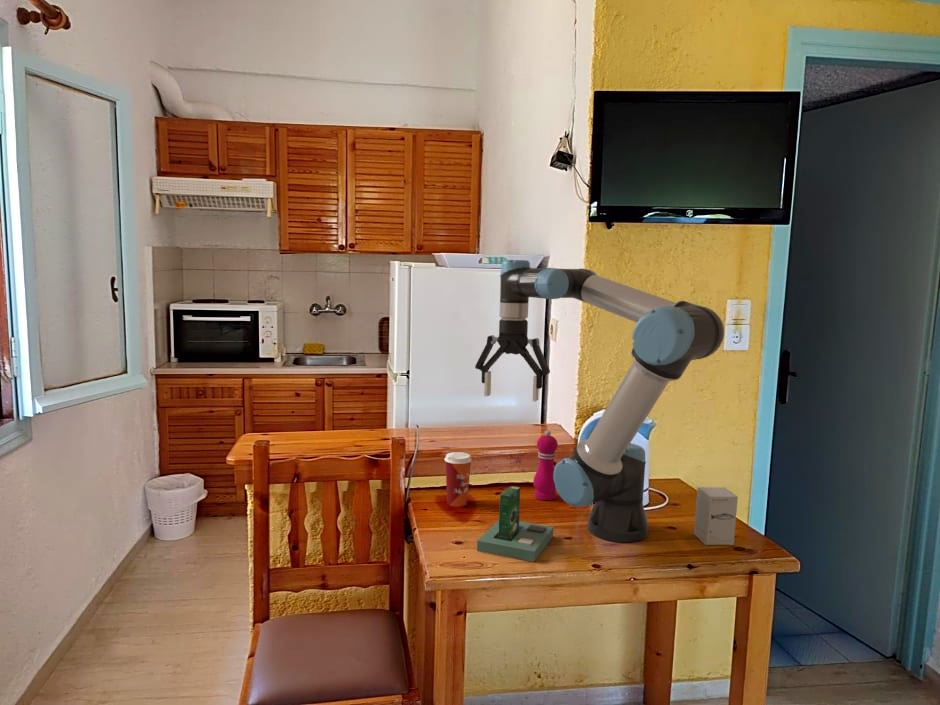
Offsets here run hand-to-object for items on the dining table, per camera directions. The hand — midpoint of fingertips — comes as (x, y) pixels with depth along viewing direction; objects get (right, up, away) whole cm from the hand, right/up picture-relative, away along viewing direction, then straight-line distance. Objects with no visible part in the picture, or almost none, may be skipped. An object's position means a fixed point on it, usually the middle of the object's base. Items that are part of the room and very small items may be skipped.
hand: (511, 398), depth 179 cm
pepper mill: (+11, -30, +16) cm, 36 cm away
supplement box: (+50, -35, -12) cm, 62 cm away
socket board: (0, -34, -17) cm, 38 cm away
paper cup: (-15, -31, +10) cm, 35 cm away
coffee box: (-2, -34, -16) cm, 38 cm away
